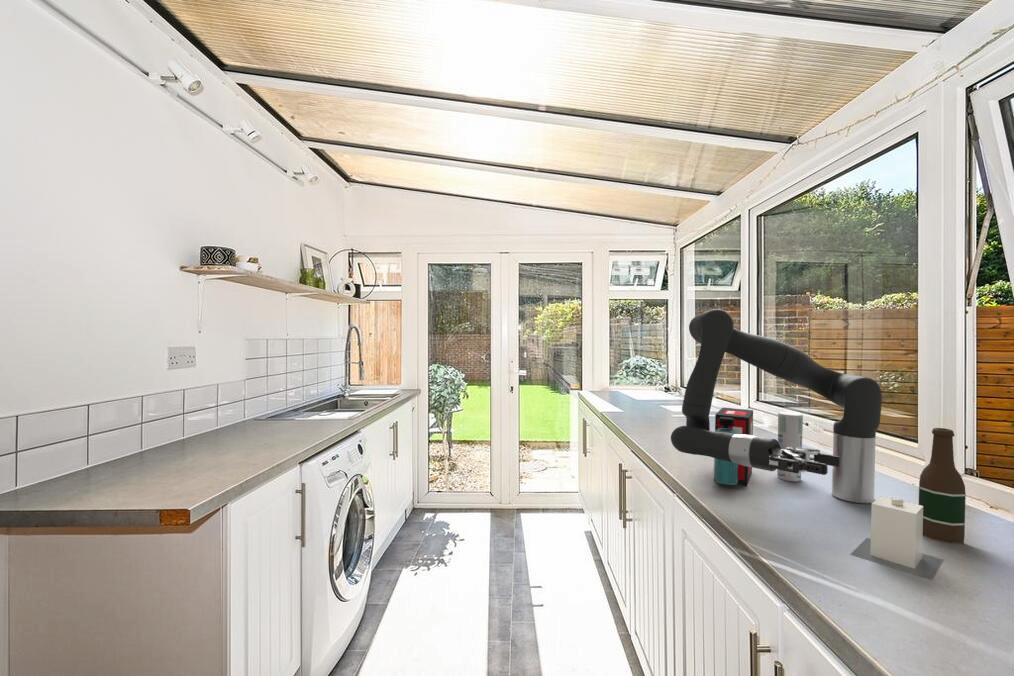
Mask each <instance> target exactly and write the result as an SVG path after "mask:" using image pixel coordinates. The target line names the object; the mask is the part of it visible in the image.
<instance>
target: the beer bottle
mask: <svg viewBox="0 0 1014 676" xmlns="http://www.w3.org/2000/svg"><path fill="white" fill-rule="evenodd" d="M931 433H932V435H933V436H932V444H931V446H932V447H931V456H930V459H929V464H928V465H926V466H925V467H924V468H923V470H922V471H921V473H920V475H919V482H918V505H921V506H923V536H924V537H927V538H929V539H932V540H936V541H940V542H945V543H949V544H963V545H964V544H965V543H964V542H965V535H966V534H965V531H966V527H965V526H966V497H967V496H966V485H965V482H964V481H963V477H962V475H961V474H960V472H959V471H958V470H957V468H956V465H955V460H954V459H955V457H954V441H953V439H954V438H953V437H955V433H954V430H952V429H949V428H943V427H934V428H932V430H931Z"/></svg>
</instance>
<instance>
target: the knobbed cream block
mask: <svg viewBox="0 0 1014 676" xmlns="http://www.w3.org/2000/svg"><path fill="white" fill-rule="evenodd" d="M870 510H871V511H870V512H871V513H870V514H871V515H870V517H871V519H870V520H871V521H870V539H871V549H870V555H872V556H875V557H878V558H881V559H885V560H888V561H891V562H894V563H898V564H901V565H904V566H907V567H910V568H914V569H915V567H916V566H917V565H918V563H919V562H920V560H921V559H922V554H923V536H924V535H923V506H921V505H919V504H916V503H911V502H908V501H907V502H906V501H904V500H903V499H902V498H897V497H891V498H888V497H885V496H880V495H879V497H878V498H876V499H874V502H873V503H871V509H870Z"/></svg>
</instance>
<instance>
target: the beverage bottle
mask: <svg viewBox="0 0 1014 676" xmlns="http://www.w3.org/2000/svg"><path fill="white" fill-rule="evenodd" d="M719 425H723V426H734V419H733V418H729V417H720V418H719ZM714 432H726V433H732V434H738V433H737V432H736V431H735V430H733V429H729V428H719V429H717V430H716V431H715V430H714ZM713 461H714V462H713V480H714V479H715V481H714V482H716V483H718V484H722V485H729V486H730V485H731V486H734V485H735V484H737V483H738V477H739V473H738V464H737V463H733V462H728V461H723V460H719V459H716V458H713Z"/></svg>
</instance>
